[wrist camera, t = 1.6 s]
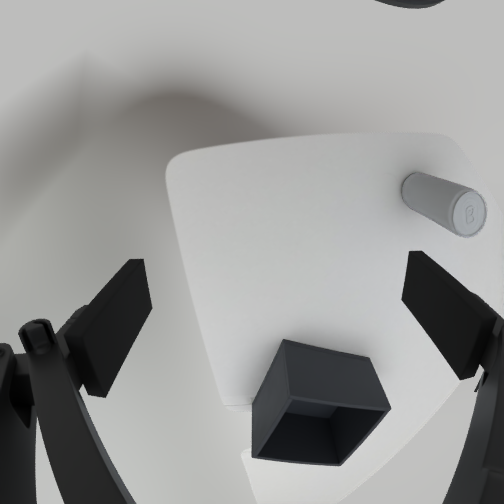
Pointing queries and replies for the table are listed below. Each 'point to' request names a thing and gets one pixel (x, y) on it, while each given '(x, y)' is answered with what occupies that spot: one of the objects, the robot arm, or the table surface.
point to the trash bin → (316, 406)
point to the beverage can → (446, 203)
